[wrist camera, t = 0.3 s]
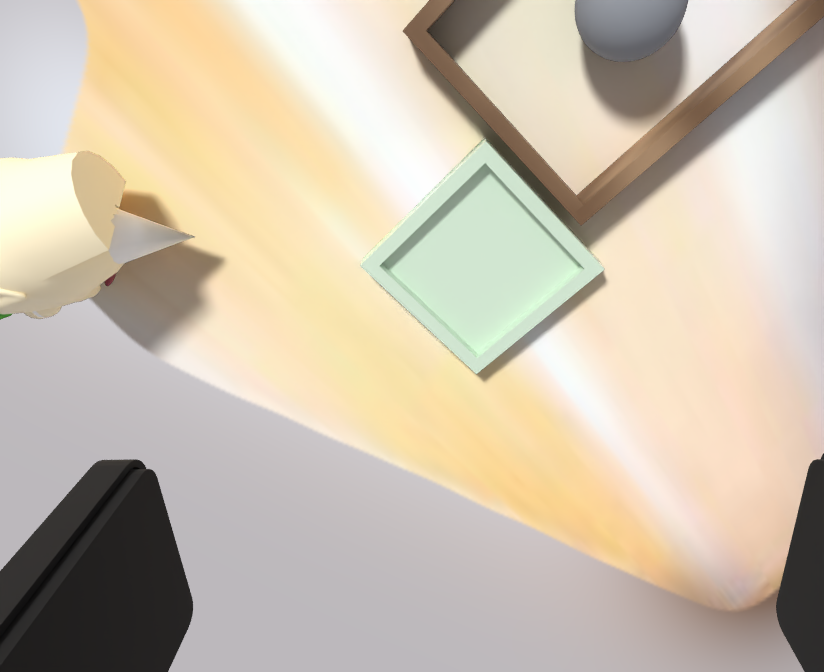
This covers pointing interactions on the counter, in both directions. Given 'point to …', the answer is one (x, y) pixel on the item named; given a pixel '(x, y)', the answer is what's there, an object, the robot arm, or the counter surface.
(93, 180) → the cartoon head
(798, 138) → the counter surface
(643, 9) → the ball
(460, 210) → the dish
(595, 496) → the counter surface
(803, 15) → the wooden picture frame
